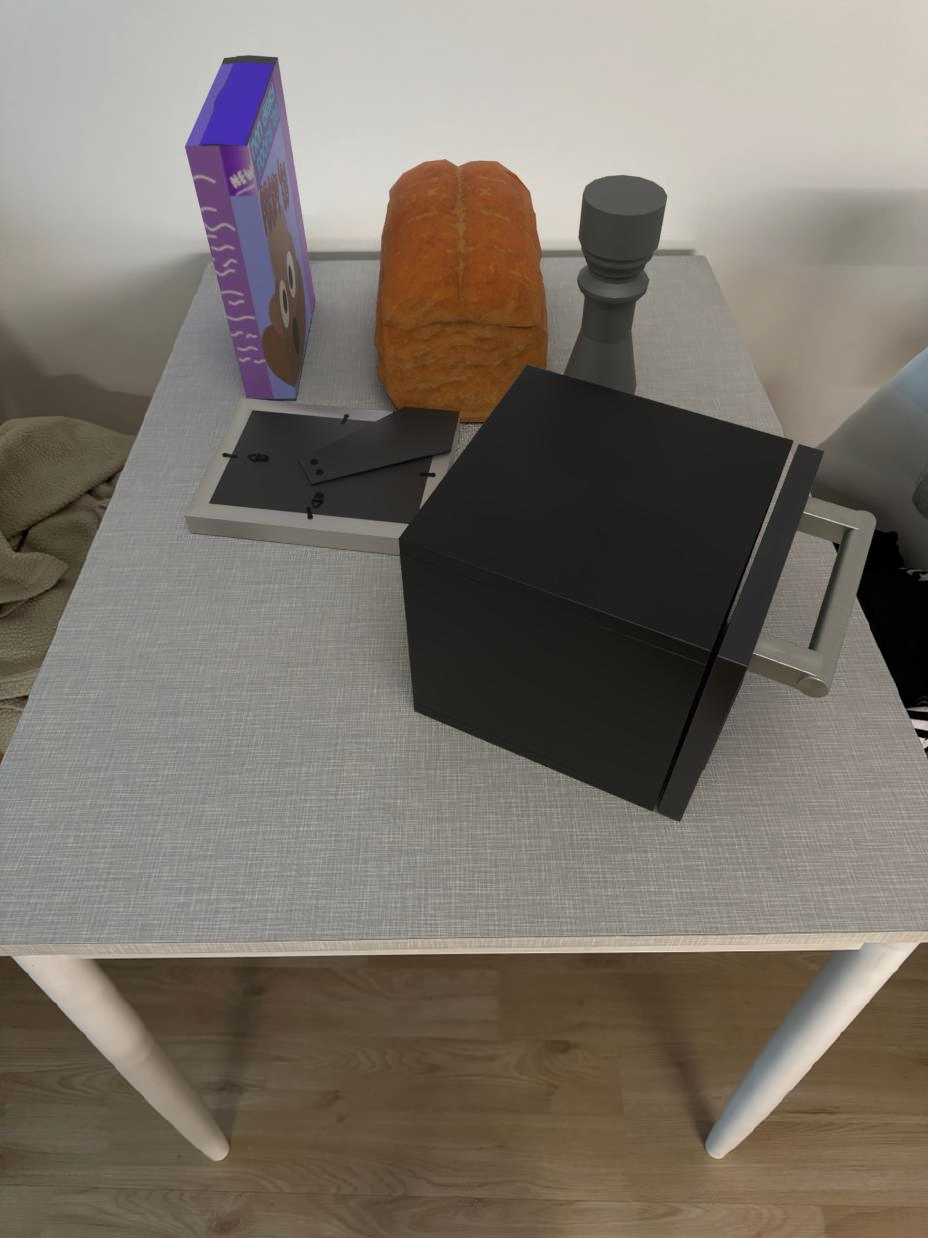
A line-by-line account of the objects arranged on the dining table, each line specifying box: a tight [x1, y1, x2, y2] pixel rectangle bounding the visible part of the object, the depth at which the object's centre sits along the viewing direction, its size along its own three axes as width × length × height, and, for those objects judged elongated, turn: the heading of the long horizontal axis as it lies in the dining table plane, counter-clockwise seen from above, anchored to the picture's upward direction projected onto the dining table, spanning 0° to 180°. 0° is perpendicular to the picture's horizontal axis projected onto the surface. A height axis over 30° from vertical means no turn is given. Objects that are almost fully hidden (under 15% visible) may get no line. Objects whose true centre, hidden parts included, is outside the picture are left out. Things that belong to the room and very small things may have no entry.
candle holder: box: [562, 174, 668, 395], centre depth 69 cm, size 6×6×25 cm
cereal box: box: [184, 54, 316, 402], centre depth 81 cm, size 17×5×24 cm, turn 0°
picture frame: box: [183, 397, 461, 556], centre depth 77 cm, size 16×3×21 cm
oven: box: [399, 364, 794, 812], centre depth 58 cm, size 18×18×18 cm
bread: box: [373, 158, 549, 423], centre depth 85 cm, size 16×27×16 cm, turn 1°
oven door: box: [656, 443, 877, 822], centre depth 55 cm, size 6×18×18 cm, turn 154°
